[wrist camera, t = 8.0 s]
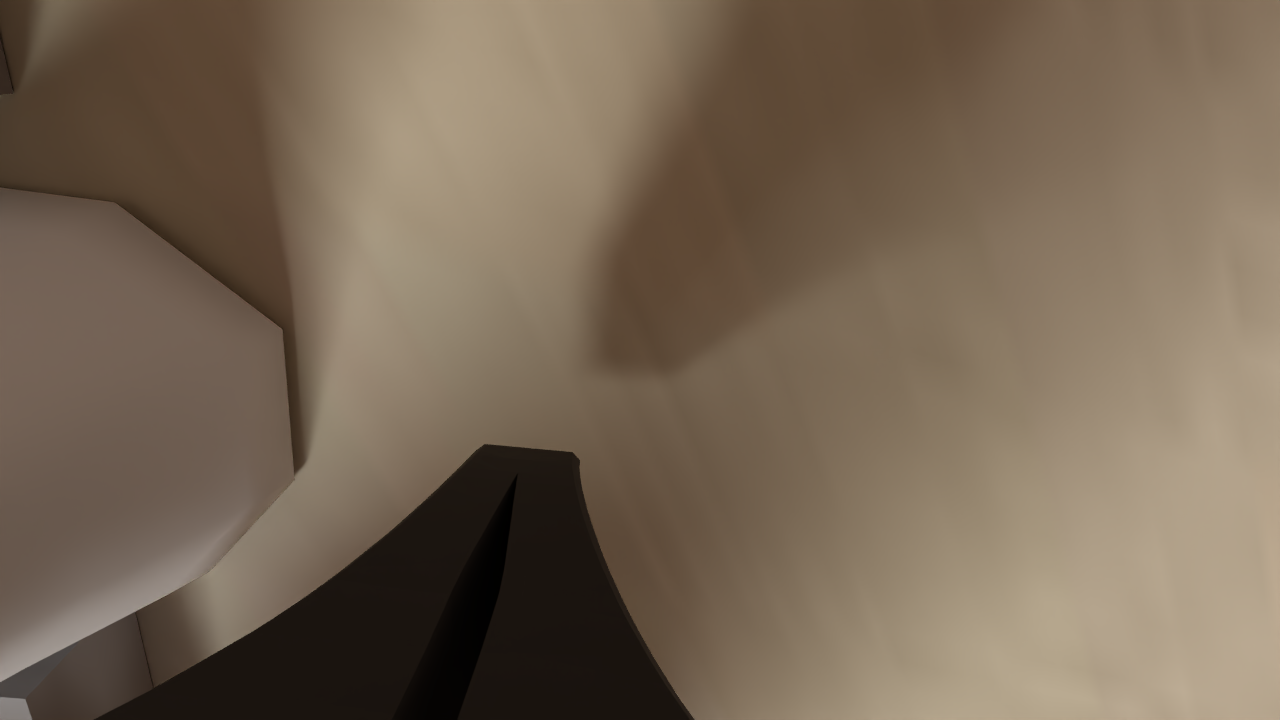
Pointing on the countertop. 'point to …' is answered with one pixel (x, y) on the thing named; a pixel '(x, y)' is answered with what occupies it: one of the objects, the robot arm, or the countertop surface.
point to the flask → (121, 420)
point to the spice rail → (78, 655)
